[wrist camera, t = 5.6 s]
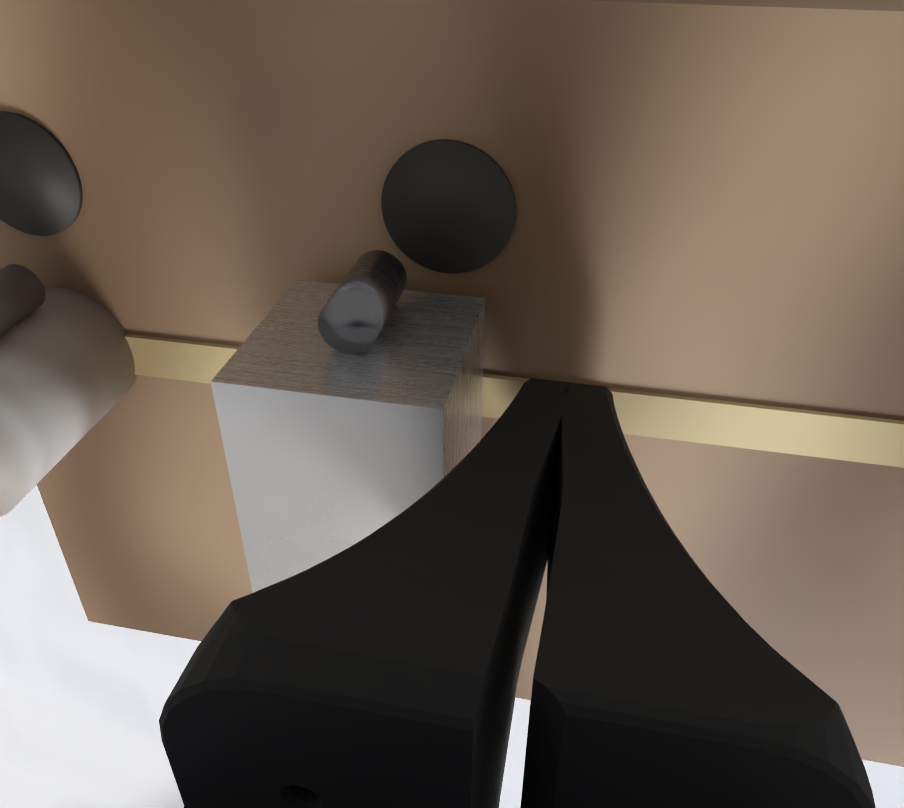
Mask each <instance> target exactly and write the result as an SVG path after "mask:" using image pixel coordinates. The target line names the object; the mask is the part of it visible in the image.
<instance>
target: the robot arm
mask: <svg viewBox="0 0 904 808" xmlns="http://www.w3.org/2000/svg"><path fill="white" fill-rule="evenodd" d="M547 560H548V562H547ZM546 564H547V592H546V606H545V612H544V618H543V624H542V629H541V635H540V641H539V647H538V652H537V658H536V664H535V669H534V675H533V683H532V694H531V704H530V715H529V725H528V736H527V746H526V757H525V768H524V778H523V789H522V799H521V808H875V803H874V798H873V794H872V789H871V786H870V783H869V780H868V776H867V773H866V770H865V767H864V765H863V762H862V759H861V757H860V754H859V752H858V749H857V746H856V744H855V741H854V739H853V736H852V734H851V731H850V729H849V727H848V724H847V722H846V719H845V717H844V715H843V713H842V710H841V708H840V706H839V704H838V703H837V702H836V701H835V700H834V699H833V698H831V697H830V696H829V695H828V694H827V693H825V692H824V691H823V690H822V689H821V688H819V687H818V686H817V685H816V684H815V683H813V682H812V681H811V680H810V679H809V678H807V677H806V676H805V675H804V674H803V673H801V672H800V671H799V670H798V669H797V668H795V667H794V666H793V665H792V664H791V663H790V662H788V661H787V660H786V659H785V658H784V657H782V656H781V655H780V654H779V653H778V652H777V651H776V650H774V649H773V648H772V647H771V646H770V645H769V644H768V643H767V642H766V641H765V640H764V639H763V638H762V637H761V636H760V635H759V634H758V633H757V632H756V631H755V630H754V629H753V628H752V627H751V626H750V625H749V624H748V623H747V622H746V621H745V620H744V619H743V618H742V617H741V616H740V615H739V614H738V612H737V611H736V610H735V609H734V608H733V607H732V606H731V605H730V604H729V602H728V601H727V600H726V599H725V598H724V597H723V596H722V595H721V593H720V592H719V591H718V590H717V589H716V588H715V587H714V586H713V584H712V583H711V582H710V581H709V580H708V578H707V577H706V576H705V575H704V573H703V572H702V571H701V569H700V568H699V567H698V565H697V564H696V563H695V562H694V560H693V559H692V558H691V556H690V555H689V554H688V552H687V551H686V549H685V548H684V546H683V545H682V544H681V542H680V541H679V539H678V538H677V536H676V535H675V533H674V532H673V530H672V529H671V527H670V526H669V524H668V522H667V521H666V519H665V518H664V516H663V514H662V513H661V511H660V509H659V507H658V506H657V504H656V502H655V500H654V499H653V497H652V495H651V493H650V491H649V490H648V488H647V486H646V484H645V482H644V480H643V478H642V476H641V474H640V472H639V469H638V467H637V465H636V463H635V461H634V458H633V456H632V454H631V452H630V450H629V447H628V445H627V442H626V440H625V437H624V434H623V432H622V429H621V426H620V423H619V420H618V417H617V414H616V410H615V406H614V401H613V394H612V393H611V391H610V390H609V389H608V388H607V387H606V386H597V385H588V384H579V383H571V382H562V381H553V380H544V379H535V378H531V379H529V380H528V381H526V382H525V383H524V384H523V385H522V387H521V389H520V390H519V392H518V393H517V395H516V396H515V398H514V399H513V401H512V402H511V404H510V405H509V406H508V408H507V409H506V410H505V412H504V413H503V414H502V415H501V417H500V418H499V419H498V420H497V422H496V423H495V424H494V425H493V426H492V428H491V429H490V430H489V431H488V432H487V433H486V434H485V436H484V437H483V438H482V439H481V440H480V441H479V442H478V444H477V445H476V446H475V447H474V448H473V449H472V450H471V451H470V452H469V453H468V454H467V455H466V456H465V457H464V458H463V459H462V460H461V461H460V462H459V463H458V464H457V465H456V466H455V467H454V468H453V469H452V470H451V471H450V472H449V473H448V474H447V475H446V476H445V477H444V478H443V479H442V480H441V481H440V482H438V483H437V484H436V485H435V486H434V487H433V488H432V489H430V490H429V491H428V492H427V493H426V494H425V495H423V496H422V497H421V498H420V499H418V500H417V501H416V502H415V503H413V504H412V505H411V506H410V507H408V508H407V509H406V510H404V511H403V512H402V513H400V514H399V515H397V516H396V517H395V518H393V519H392V520H390V521H389V522H387V523H386V524H385V525H383V526H382V527H380V528H379V529H377V530H376V531H375V532H373V533H372V534H370V535H368V536H367V537H365V538H364V539H362V540H361V541H359V542H357V543H356V544H354V545H352V546H351V547H349V548H347V549H345V550H343V551H342V552H340V553H338V554H336V555H334V556H332V557H331V558H329V559H327V560H325V561H323V562H321V563H319V564H317V565H315V566H313V567H311V568H309V569H307V570H305V571H303V572H301V573H298V574H296V575H294V576H292V577H290V578H287V579H285V580H282V581H280V582H278V583H275V584H273V585H270V586H268V587H266V588H263V589H261V590H258V591H256V592H254V593H251V594H249V595H246V596H244V597H241V598H238V599H236V600H233V601H231V602H230V604H229V605H228V606H227V608H226V609H225V611H224V612H223V613H222V615H221V616H220V617H219V619H218V620H217V621H216V623H215V624H214V625H213V626H212V628H211V629H210V630H209V632H208V633H207V634H206V636H205V637H204V639H203V640H202V641H201V643H200V644H199V646H198V647H197V649H196V650H195V652H194V654H193V656H192V657H191V659H190V661H189V663H188V664H187V666H186V668H185V669H184V671H183V673H182V675H181V676H180V678H179V680H178V682H177V683H176V685H175V687H174V689H173V690H172V692H171V694H170V696H169V697H168V699H167V701H166V703H165V705H164V708H163V711H162V714H161V717H160V720H159V724H160V731H161V738H162V742H163V745H164V748H165V751H166V754H167V757H168V759H169V762H170V765H171V768H172V771H173V774H174V777H175V780H176V783H177V786H178V789H179V791H180V794H181V797H182V800H183V803H184V808H499V801H500V794H501V787H502V781H503V774H504V767H505V761H506V754H507V747H508V740H509V734H510V727H511V721H512V714H513V708H514V701H515V694H516V688H517V682H518V677H519V672H520V668H521V663H522V658H523V654H524V650H525V646H526V642H527V638H528V634H529V631H530V627H531V623H532V619H533V615H534V611H535V607H536V603H537V599H538V595H539V592H540V588H541V584H542V580H543V576H544V572H545V568H546Z"/></svg>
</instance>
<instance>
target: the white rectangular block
mask: <svg viewBox="0 0 904 808" xmlns="http://www.w3.org/2000/svg"><path fill="white" fill-rule="evenodd" d="M406 284H407V274H406V271H405V268H404V266H403V264H402V263H401V262H400V261H399V259H397V258H396V257H395V256H394V255H392V254H390V253H388V252H385V251H381V250H373V251H369V252H366V253H364V254H363V255H362V256H360V258H359V259H358V260H357V261H356V263H355V264H354V266H353V267H352V268H351V270H350V271H349V272H348V274H347V275H346V276H345V278H344V279H343V281H342V282H341V283H340V284H336V283H326V282H315V281H305V280H296V281H295V282H294V283H293V284H292V285H291V286H290V288H289V289H288V290H287V291H286V292H285V294H284V295H283V296H282V297H281V298H280V300H279V301H278V302H277V303H276V304H275V306H274V307H273V308H272V309H271V310H270V311H269V313H268V314H267V315H266V316H265V317H264V319H263V320H262V321H261V322H260V323H259V325H258V326H257V327H256V328H255V329H254V330H253V332H252V333H251V334H250V335H249V336H248V338H247V339H246V340H245V341H244V342H243V344H242V345H241V346H240V347H239V348H238V350H237V351H236V352H235V353H234V354H233V355H232V357H231V358H230V359H229V360H228V361H227V363H226V364H225V365H224V366H223V367H222V369H221V370H220V371H219V372H218V373H217V374H216V376H215V377H214V378H213V379H212V380H211V386H212V391H213V396H214V401H215V406H216V411H217V416H218V421H219V426H220V431H221V436H222V441H223V446H224V451H225V456H226V461H227V466H228V471H229V476H230V481H231V486H232V491H233V496H234V501H235V506H236V511H237V516H238V521H239V526H240V531H241V536H242V541H243V546H244V551H245V556H246V562H247V567H248V572H249V577H250V582H251V587H252V592H253V593H254V592H256V591H258V590H261V589H263V588H266V587H268V586H270V585H273V584H275V583H278V582H280V581H282V580H285V579H287V578H290V577H292V576H294V575H296V574H298V573H301V572H303V571H305V570H307V569H309V568H311V567H313V566H315V565H317V564H319V563H321V562H323V561H325V560H327V559H329V558H331V557H332V556H334V555H336V554H338V553H340V552H342V551H343V550H345V549H347V548H349V547H351V546H352V545H354V544H356V543H357V542H359V541H361V540H362V539H364V538H365V537H367V536H368V535H370V534H372V533H373V532H375V531H376V530H377V529H379V528H380V527H382V526H383V525H385V524H386V523H387V522H389V521H390V520H392V519H393V518H395V517H396V516H397V515H399V514H400V513H402V512H403V511H404V510H406V509H407V508H408V507H410V506H411V505H412V504H413V503H415V502H416V501H417V500H418V499H420V498H421V497H422V496H423V495H425V494H426V493H427V492H428V491H429V490H430V489H432V488H433V487H434V486H435V485H436V484H437V483H438V482H440V481H441V480H442V479H443V478H444V477H445V476H446V475H447V474H448V473H449V472H450V471H451V470H452V469H453V468H454V467H455V466H456V465H457V464H458V463H459V462H460V461H461V460H462V459H463V458H464V457H465V456H466V455H467V454H468V453H469V452H470V451H471V450H472V449H473V448H474V447H475V446H476V445H477V444H478V442H479V441H480V440H481V433H482V399H483V365H484V331H485V298H482V297H471V296H461V295H450V294H440V293H430V292H419V291H409V290H404V289H405V287H406Z"/></svg>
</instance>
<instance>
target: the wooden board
mask: <svg viewBox="0 0 904 808" xmlns="http://www.w3.org/2000/svg"><path fill="white" fill-rule="evenodd" d="M373 250H381V251H385V252H388V253H390V254H392V255H394V256H395V257H396V258H397V259H399V261H400V262H401V263H402V264H403V266H404V268H405V271H406V274H407V284H406V287H405V289H404V290H409V291H419V292H430V293H440V294H450V295H461V296H471V297H482V298H485V331H484V365H483V399H482V433H481V439H482V438H483V437H484V436H485V434H486V433H487V432H488V431H489V430H490V429H491V428H492V426H493V425H494V424H495V423H496V422H497V420H498V419H499V418H500V417H501V415H502V414H503V413H504V412H505V410H506V409H507V408H508V406H509V405H510V404H511V402H512V401H513V399H514V398H515V396H516V395H517V393H518V392H519V390H520V389H521V387H522V385H523V384H524V383H525V382H526V381H528V380H529V379H531V378H535V379H544V380H553V381H562V382H571V383H579V384H588V385H597V386H606V387H607V388H608V389H609V390H610V391H611V393H612V394H613V401H614V406H615V410H616V414H617V417H618V420H619V423H620V426H621V429H622V432H623V434H624V437H625V440H626V442H627V445H628V447H629V450H630V452H631V454H632V456H633V458H634V461H635V463H636V465H637V467H638V469H639V472H640V474H641V476H642V478H643V480H644V482H645V484H646V486H647V488H648V490H649V491H650V493H651V495H652V497H653V499H654V500H655V502H656V504H657V506H658V507H659V509H660V511H661V513H662V514H663V516H664V518H665V519H666V521H667V522H668V524H669V526H670V527H671V529H672V530H673V532H674V533H675V535H676V536H677V538H678V539H679V541H680V542H681V544H682V545H683V546H684V548H685V549H686V551H687V552H688V554H689V555H690V556H691V558H692V559H693V560H694V562H695V563H696V564H697V565H698V567H699V568H700V569H701V571H702V572H703V573H704V575H705V576H706V577H707V578H708V580H709V581H710V582H711V583H712V584H713V586H714V587H715V588H716V589H717V590H718V591H719V592H720V593H721V595H722V596H723V597H724V598H725V599H726V600H727V601H728V602H729V604H730V605H731V606H732V607H733V608H734V609H735V610H736V611H737V612H738V614H739V615H740V616H741V617H742V618H743V619H744V620H745V621H746V622H747V623H748V624H749V625H750V626H751V627H752V628H753V629H754V630H755V631H756V632H757V633H758V634H759V635H760V636H761V637H762V638H763V639H764V640H765V641H766V642H767V643H768V644H769V645H770V646H771V647H772V648H773V649H774V650H776V651H777V652H778V653H779V654H780V655H781V656H782V657H784V658H785V659H786V660H787V661H788V662H790V663H791V664H792V665H793V666H794V667H795V668H797V669H798V670H799V671H800V672H801V673H803V674H804V675H805V676H806V677H807V678H809V679H810V680H811V681H812V682H813V683H815V684H816V685H817V686H818V687H819V688H821V689H822V690H823V691H824V692H825V693H827V694H828V695H829V696H830V697H831V698H833V699H834V700H835V701H836V702H837V703H838V704H839V706H840V708H841V710H842V713H843V715H844V717H845V719H846V722H847V724H848V727H849V729H850V731H851V734H852V736H853V739H854V741H855V744H856V746H857V749H858V752H859V754H860V757H861V759H864V760H869V761H875V762H880V763H886V764H891V765H897V766H903V767H904V0H0V517H1V516H3V515H5V514H7V513H8V512H10V511H11V510H12V509H13V508H14V507H15V506H16V505H17V504H18V503H19V502H20V501H21V500H22V499H23V498H24V497H25V496H26V495H27V494H28V493H29V492H30V491H31V490H32V489H33V488H34V487H35V486H36V485H37V486H38V489H39V491H40V494H41V497H42V499H43V502H44V505H45V507H46V510H47V512H48V515H49V518H50V520H51V523H52V526H53V528H54V531H55V534H56V536H57V539H58V542H59V544H60V547H61V550H62V552H63V555H64V557H65V560H66V563H67V565H68V568H69V571H70V573H71V576H72V579H73V581H74V584H75V587H76V589H77V592H78V595H79V597H80V600H81V603H82V605H83V608H84V610H85V613H86V616H87V618H88V621H91V622H97V623H103V624H108V625H114V626H119V627H125V628H131V629H136V630H142V631H147V632H153V633H159V634H164V635H170V636H175V637H181V638H187V639H192V640H198V641H202V640H203V639H204V637H205V636H206V634H207V633H208V632H209V630H210V629H211V628H212V626H213V625H214V624H215V623H216V621H217V620H218V619H219V617H220V616H221V615H222V613H223V612H224V611H225V609H226V608H227V606H228V605H229V604H230V602H231V601H233V600H236V599H238V598H241V597H244V596H246V595H249V594H251V593H253V592H252V587H251V582H250V577H249V572H248V567H247V562H246V556H245V551H244V546H243V541H242V536H241V531H240V526H239V521H238V516H237V511H236V506H235V501H234V496H233V491H232V486H231V481H230V476H229V471H228V466H227V461H226V456H225V451H224V446H223V441H222V436H221V431H220V426H219V421H218V416H217V411H216V406H215V401H214V396H213V391H212V386H211V380H212V379H213V378H214V377H215V376H216V374H217V373H218V372H219V371H220V370H221V369H222V367H223V366H224V365H225V364H226V363H227V361H228V360H229V359H230V358H231V357H232V355H233V354H234V353H235V352H236V351H237V350H238V348H239V347H240V346H241V345H242V344H243V342H244V341H245V340H246V339H247V338H248V336H249V335H250V334H251V333H252V332H253V330H254V329H255V328H256V327H257V326H258V325H259V323H260V322H261V321H262V320H263V319H264V317H265V316H266V315H267V314H268V313H269V311H270V310H271V309H272V308H273V307H274V306H275V304H276V303H277V302H278V301H279V300H280V298H281V297H282V296H283V295H284V294H285V292H286V291H287V290H288V289H289V288H290V286H291V285H292V284H293V283H294V282H295V281H296V280H305V281H315V282H326V283H336V284H340V283H341V282H342V281H343V279H344V278H345V276H346V275H347V274H348V272H349V271H350V270H351V268H352V267H353V266H354V264H355V263H356V261H357V260H358V259H359V258H360V256H362V255H363V254H364V253H366V252H369V251H373ZM547 562H548V560H547ZM546 592H547V564H546V568H545V572H544V576H543V580H542V584H541V588H540V592H539V595H538V599H537V603H536V607H535V611H534V615H533V619H532V623H531V627H530V631H529V634H528V638H527V642H526V646H525V650H524V654H523V658H522V663H521V668H520V672H519V677H518V682H517V688H516V694H515V697H517V698H522V699H528V700H531V694H532V683H533V675H534V669H535V664H536V658H537V652H538V647H539V641H540V635H541V629H542V624H543V618H544V612H545V606H546Z"/></svg>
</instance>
